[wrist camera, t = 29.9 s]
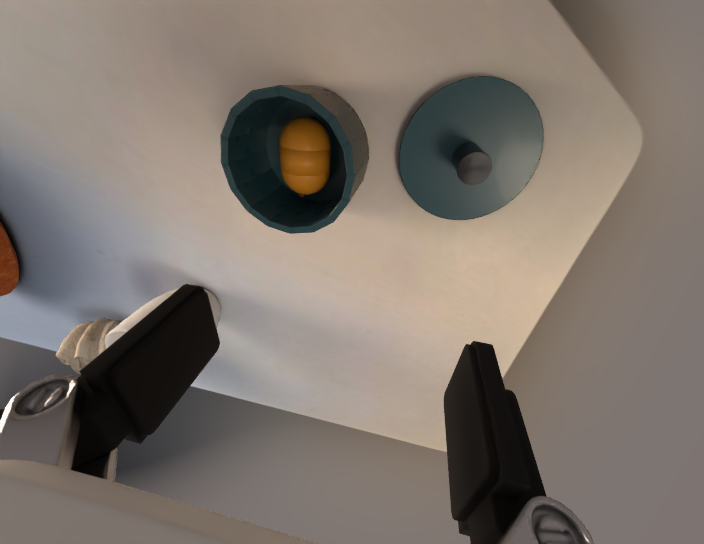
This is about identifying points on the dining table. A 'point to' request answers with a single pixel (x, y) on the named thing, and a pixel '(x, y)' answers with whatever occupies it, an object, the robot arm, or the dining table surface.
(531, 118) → the lid
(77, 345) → the seashell
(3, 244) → the bread
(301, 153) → the orange ribbed oval piece
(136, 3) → the dining table surface
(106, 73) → the dining table surface
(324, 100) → the pot
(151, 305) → the mug
